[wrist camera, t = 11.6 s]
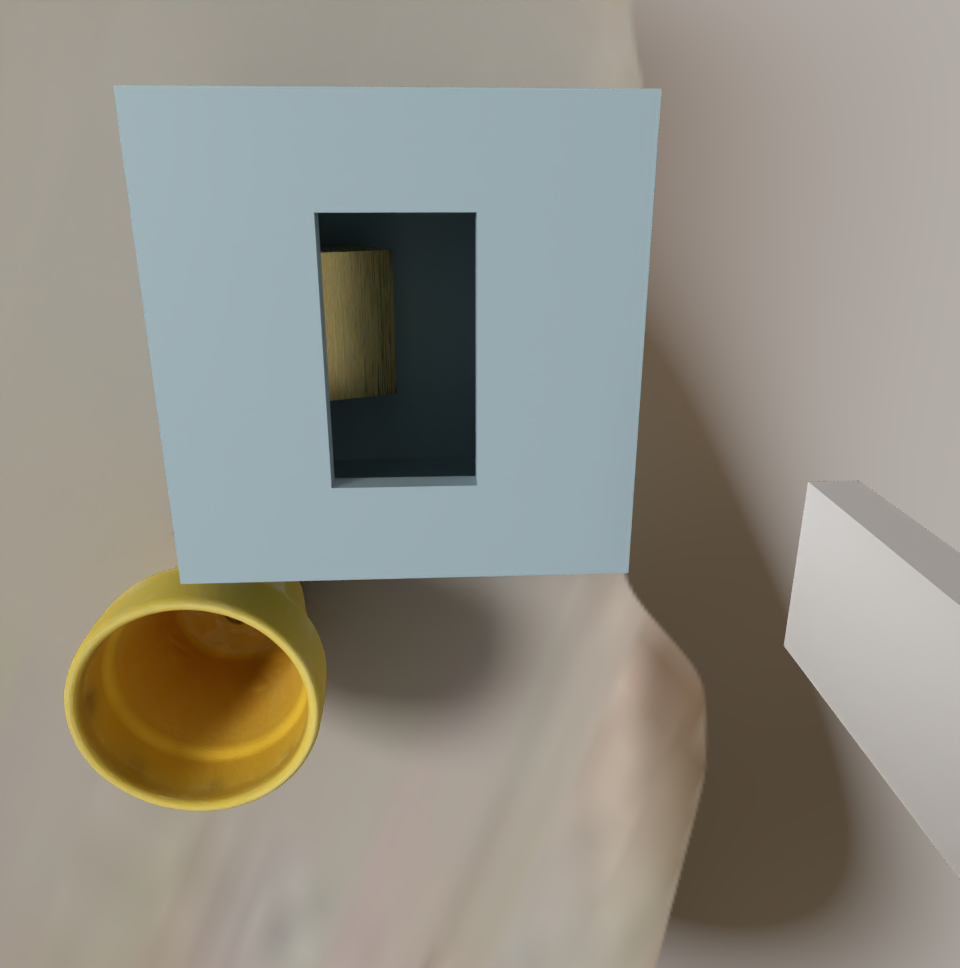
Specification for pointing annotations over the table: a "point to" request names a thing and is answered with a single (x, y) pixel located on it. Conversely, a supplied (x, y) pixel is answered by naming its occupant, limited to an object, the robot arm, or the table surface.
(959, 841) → the robot arm
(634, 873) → the table surface
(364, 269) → the yellow rectangular block
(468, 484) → the box
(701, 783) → the table surface
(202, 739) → the plant pot
